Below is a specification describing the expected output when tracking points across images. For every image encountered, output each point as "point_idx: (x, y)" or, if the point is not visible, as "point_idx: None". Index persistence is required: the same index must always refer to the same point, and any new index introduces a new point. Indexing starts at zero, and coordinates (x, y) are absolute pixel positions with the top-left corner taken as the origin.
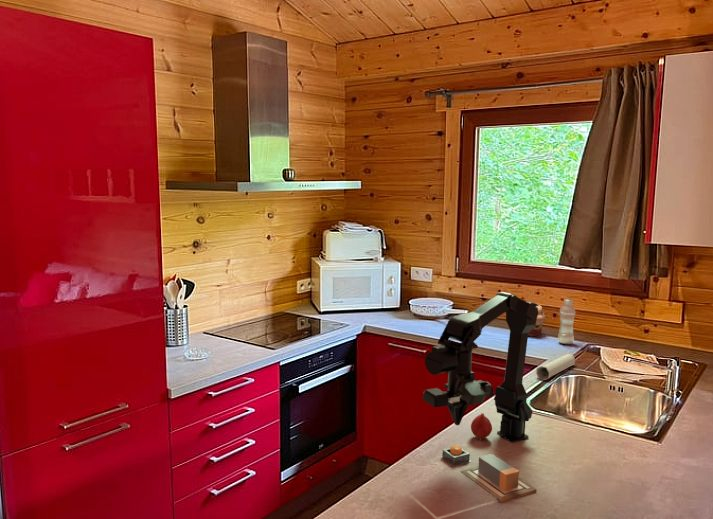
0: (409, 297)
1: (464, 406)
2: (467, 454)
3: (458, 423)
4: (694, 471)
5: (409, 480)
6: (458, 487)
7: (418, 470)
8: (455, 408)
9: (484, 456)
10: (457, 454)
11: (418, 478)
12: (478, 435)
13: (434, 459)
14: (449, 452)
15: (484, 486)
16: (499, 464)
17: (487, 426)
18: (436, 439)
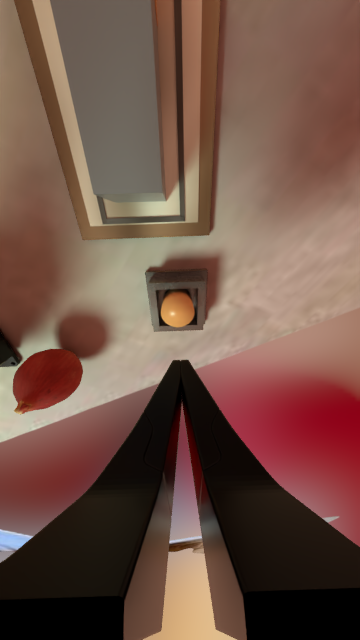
0: None
1: (145, 491)
2: (155, 283)
3: (181, 364)
4: None
5: (344, 259)
6: (273, 152)
7: (286, 293)
8: (272, 484)
9: (136, 186)
10: (183, 293)
11: (319, 259)
12: (73, 356)
13: (218, 320)
14: None
15: (208, 78)
16: (104, 37)
17: (31, 367)
18: None
